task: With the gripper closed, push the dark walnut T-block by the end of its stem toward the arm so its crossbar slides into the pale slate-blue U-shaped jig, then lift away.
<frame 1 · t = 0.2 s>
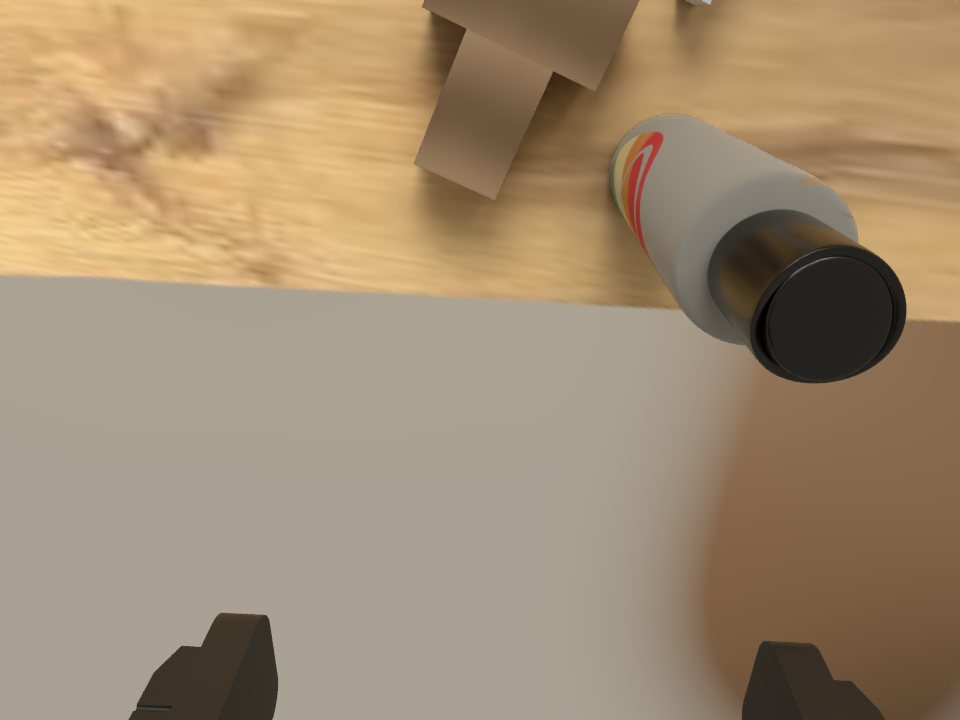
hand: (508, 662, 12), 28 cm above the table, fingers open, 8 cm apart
t block: (459, 166, 35), on the table
lotion bottle: (663, 170, 35), on the table
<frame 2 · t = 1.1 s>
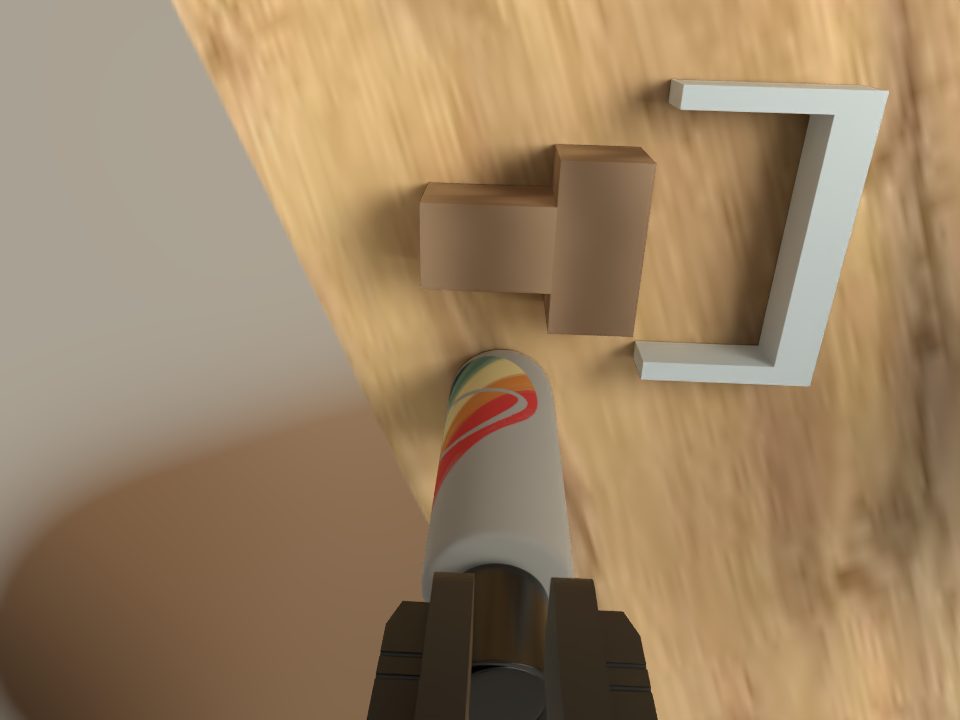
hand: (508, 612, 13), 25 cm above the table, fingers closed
t block: (429, 222, 35), on the table
jig: (752, 234, 35), on the table
lotion bottle: (501, 390, 39), on the table
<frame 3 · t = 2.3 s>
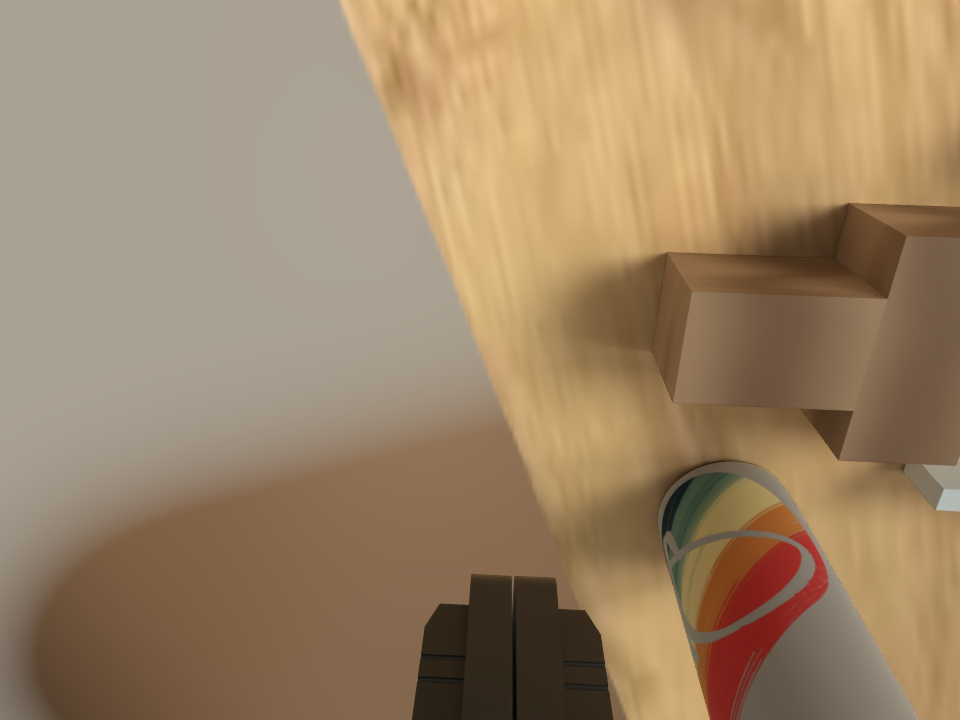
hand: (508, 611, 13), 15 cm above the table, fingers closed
t block: (659, 303, 26), on the table
lotion bottle: (720, 508, 31), on the table
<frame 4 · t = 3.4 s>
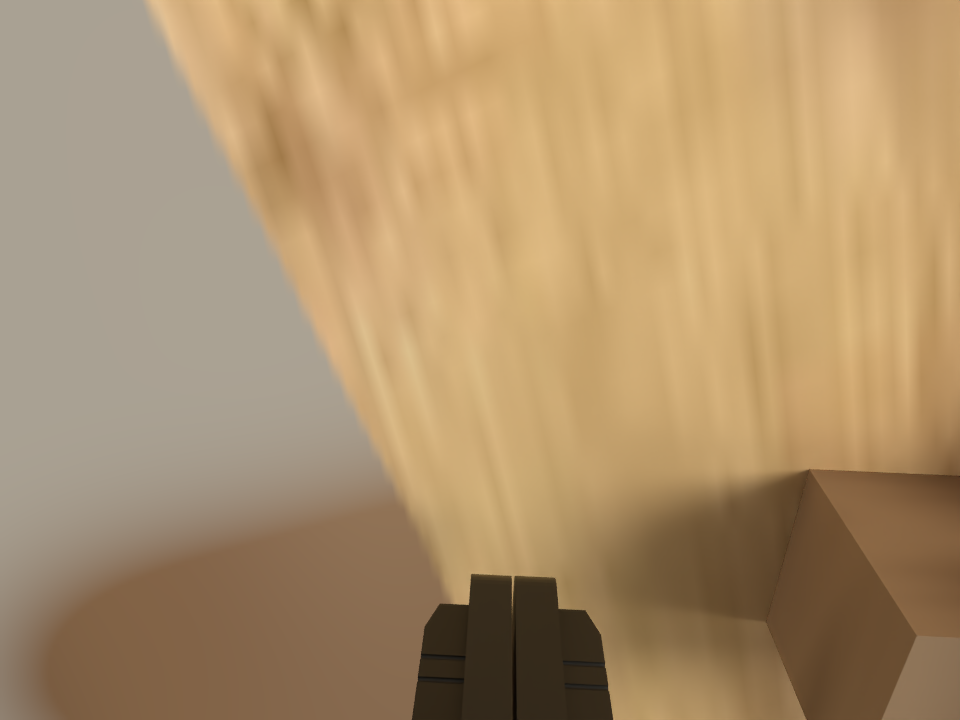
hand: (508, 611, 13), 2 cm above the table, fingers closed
t block: (786, 550, 14), on the table
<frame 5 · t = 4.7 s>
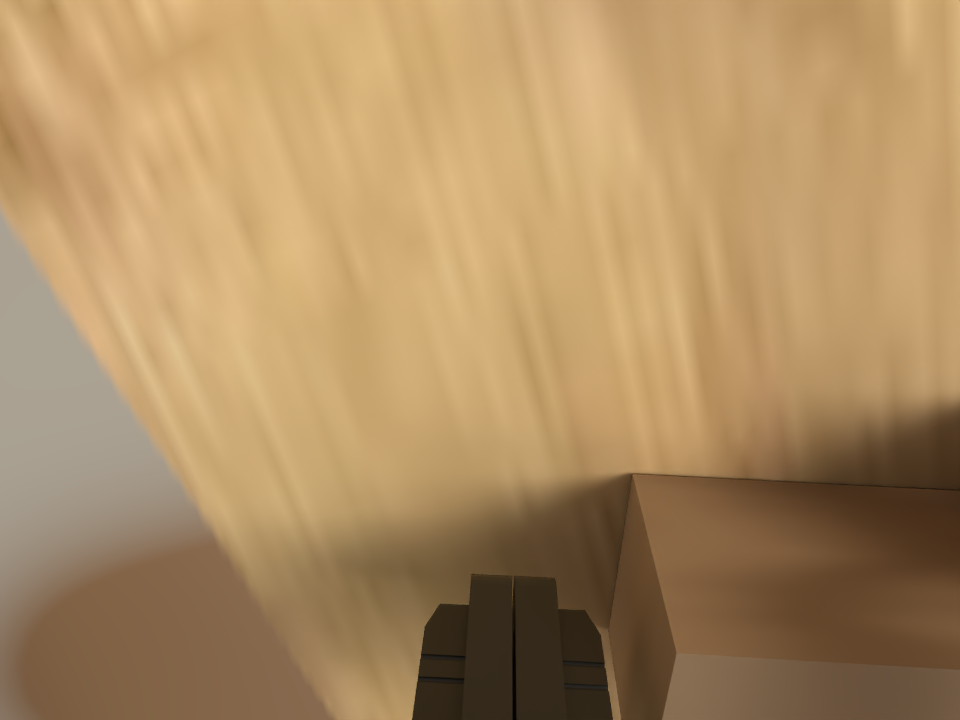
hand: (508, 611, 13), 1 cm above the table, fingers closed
t block: (619, 557, 14), on the table, touching gripper
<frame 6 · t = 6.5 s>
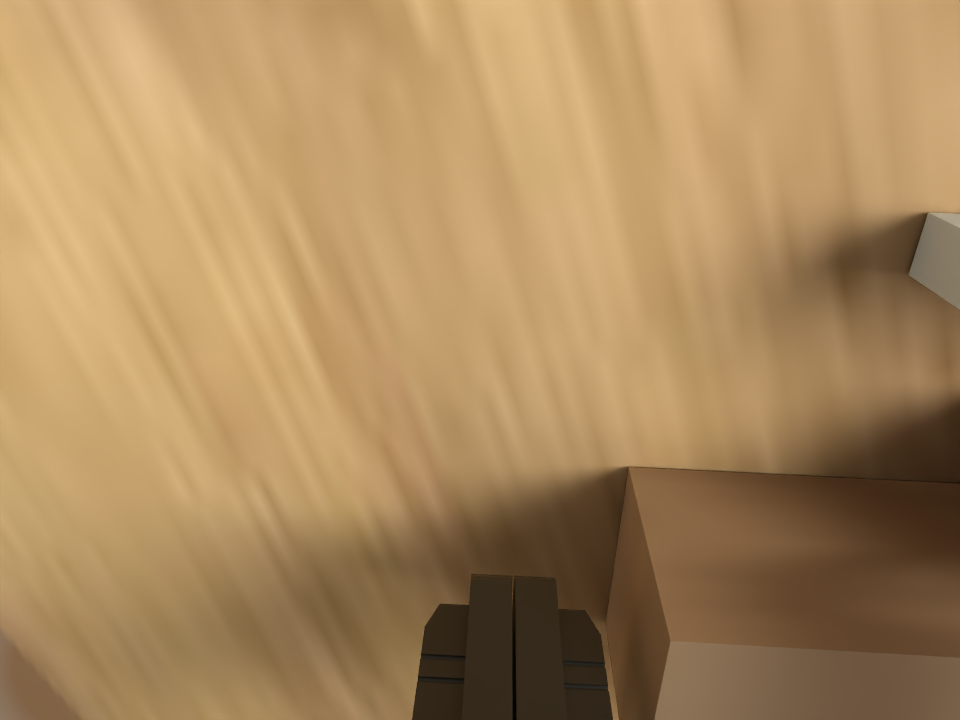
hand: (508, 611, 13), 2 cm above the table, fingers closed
t block: (616, 550, 14), on the table, touching gripper
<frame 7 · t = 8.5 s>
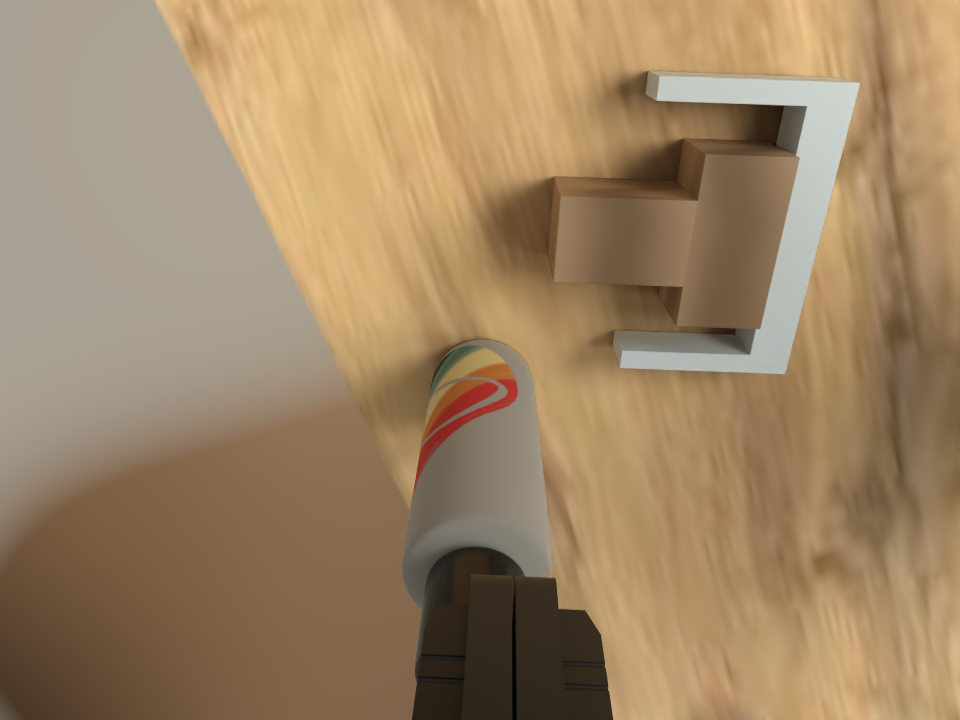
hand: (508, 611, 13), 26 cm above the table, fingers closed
t block: (550, 216, 35), on the table
jig: (728, 224, 35), on the table
lotion bottle: (483, 380, 40), on the table
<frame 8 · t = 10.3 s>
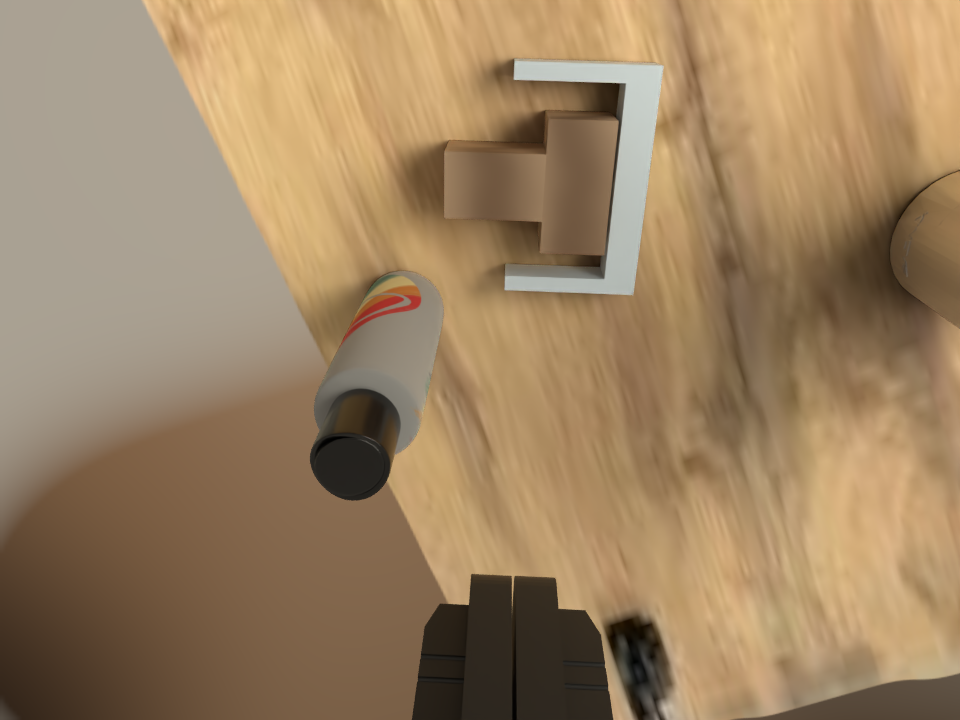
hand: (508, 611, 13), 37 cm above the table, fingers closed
t block: (449, 171, 46), on the table
jig: (586, 177, 46), on the table
lotion bottle: (405, 305, 50), on the table
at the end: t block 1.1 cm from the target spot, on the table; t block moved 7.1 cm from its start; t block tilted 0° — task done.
